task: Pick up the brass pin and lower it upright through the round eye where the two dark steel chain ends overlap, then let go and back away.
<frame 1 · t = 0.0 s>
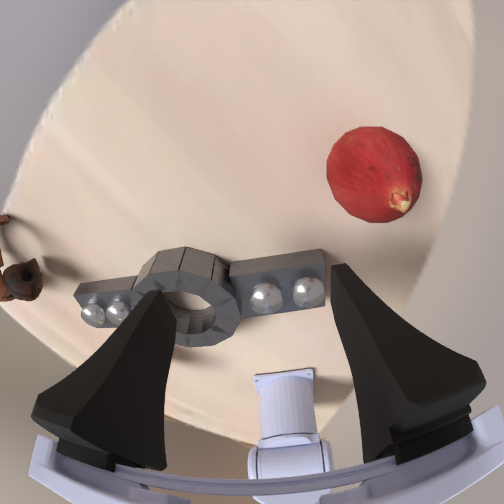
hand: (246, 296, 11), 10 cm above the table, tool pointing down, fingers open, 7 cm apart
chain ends: (189, 290, 25), on the table
rusty ring shackle: (21, 250, 22), on the table
onion: (353, 156, 18), on the table
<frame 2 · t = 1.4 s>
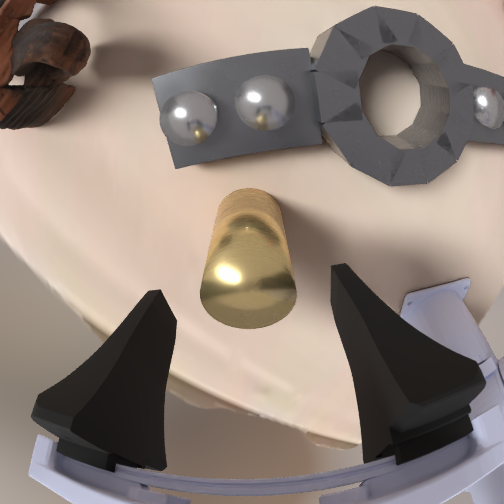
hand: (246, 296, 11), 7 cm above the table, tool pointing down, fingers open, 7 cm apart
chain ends: (383, 92, 12), on the table
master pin: (249, 218, 17), on the table
rusty ring shackle: (51, 56, 10), on the table
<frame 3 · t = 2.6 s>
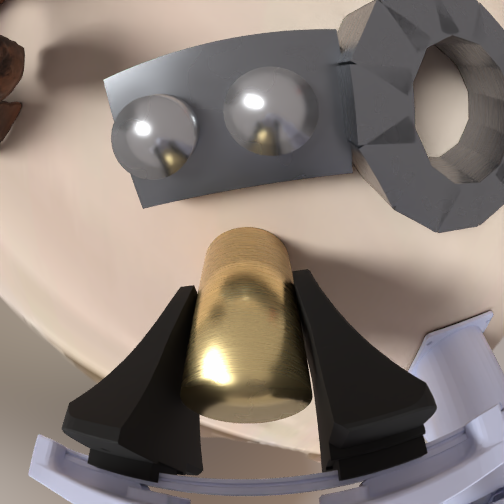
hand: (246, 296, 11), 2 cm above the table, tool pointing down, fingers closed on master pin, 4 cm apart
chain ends: (427, 99, 8), on the table
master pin: (247, 263, 13), on the table, touching gripper
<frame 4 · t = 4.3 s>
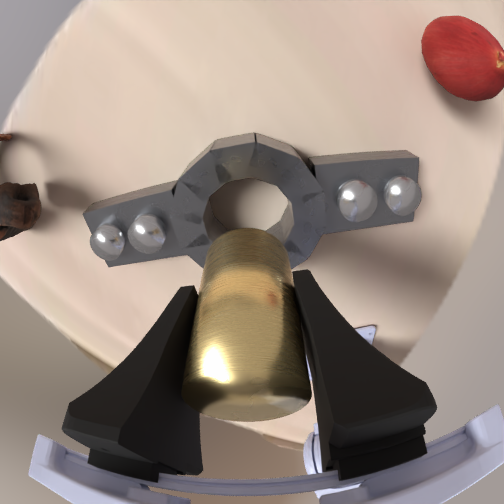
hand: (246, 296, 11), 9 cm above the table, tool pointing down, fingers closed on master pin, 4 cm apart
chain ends: (248, 200, 19), on the table
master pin: (247, 264, 13), point 7 cm above the table, touching gripper
rusty ring shackle: (19, 181, 17), on the table
onion: (431, 56, 12), on the table
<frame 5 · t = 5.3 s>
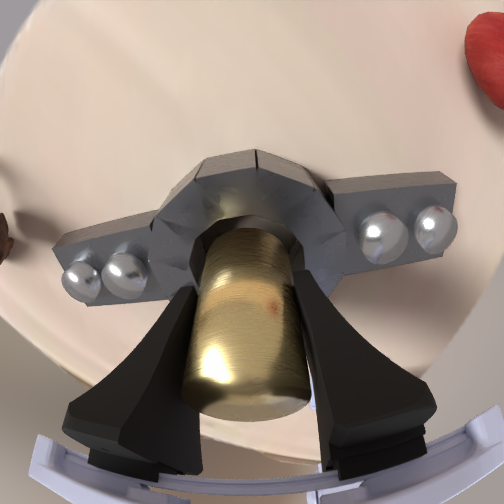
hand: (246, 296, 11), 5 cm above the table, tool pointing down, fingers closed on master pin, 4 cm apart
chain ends: (247, 234, 15), on the table
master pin: (247, 264, 13), point 3 cm above the table, touching gripper
onion: (469, 58, 9), on the table
when the fingers open (4 cm above the table, at t = 6.1 s): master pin drops 1 cm, resting in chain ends.
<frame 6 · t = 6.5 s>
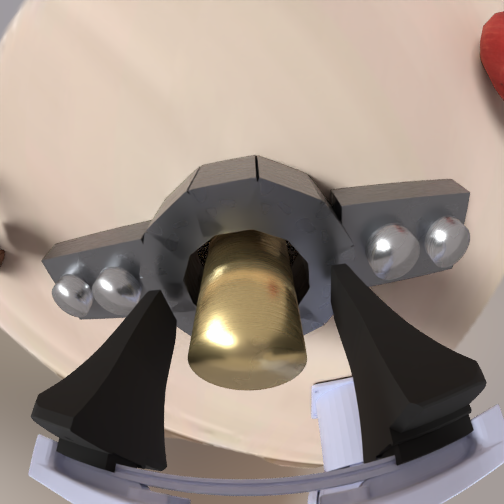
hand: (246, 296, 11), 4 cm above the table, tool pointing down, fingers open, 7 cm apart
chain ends: (247, 246, 14), on the table
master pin: (247, 247, 14), resting in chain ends
onion: (482, 58, 7), on the table
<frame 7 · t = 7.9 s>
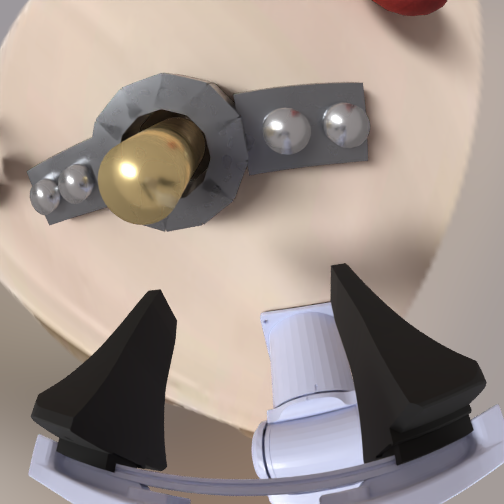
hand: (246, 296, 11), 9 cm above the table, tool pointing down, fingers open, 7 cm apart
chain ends: (174, 145, 16), on the table
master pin: (175, 146, 17), resting in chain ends
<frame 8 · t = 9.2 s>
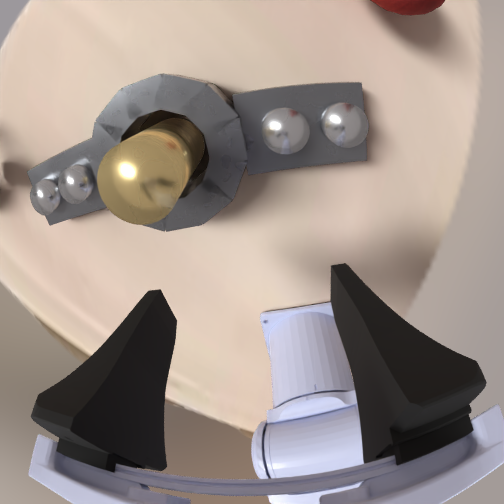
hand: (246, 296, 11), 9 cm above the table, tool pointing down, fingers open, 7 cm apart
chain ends: (174, 145, 17), on the table
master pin: (174, 146, 17), resting in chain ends
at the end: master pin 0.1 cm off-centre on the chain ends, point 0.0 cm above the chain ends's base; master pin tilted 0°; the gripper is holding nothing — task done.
